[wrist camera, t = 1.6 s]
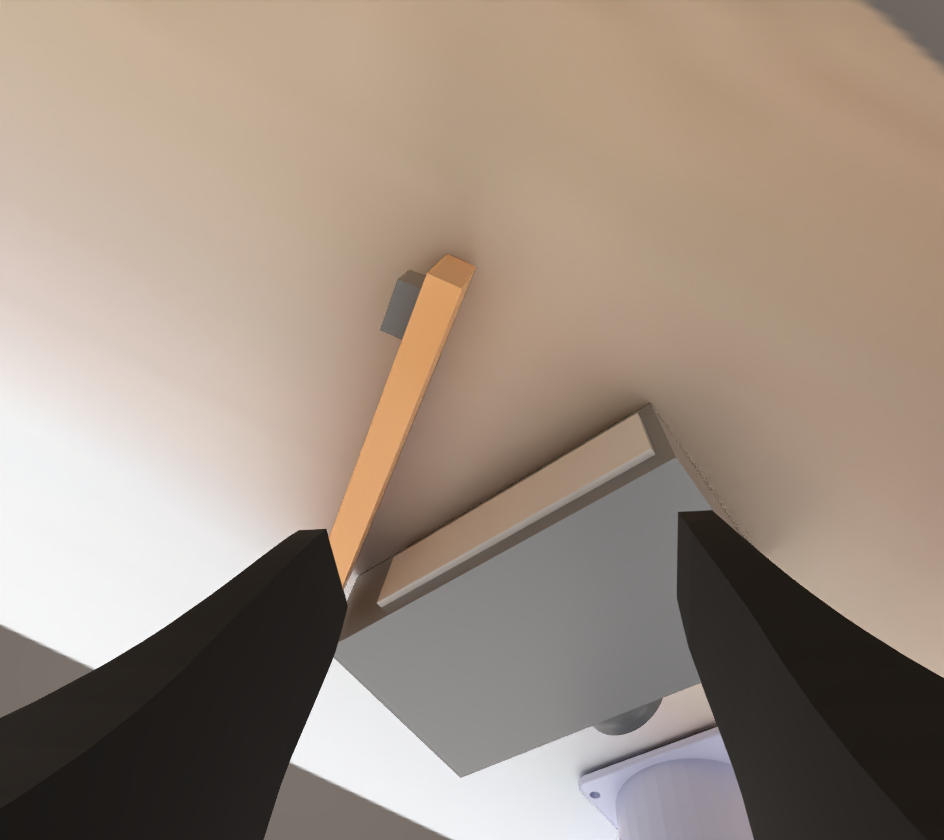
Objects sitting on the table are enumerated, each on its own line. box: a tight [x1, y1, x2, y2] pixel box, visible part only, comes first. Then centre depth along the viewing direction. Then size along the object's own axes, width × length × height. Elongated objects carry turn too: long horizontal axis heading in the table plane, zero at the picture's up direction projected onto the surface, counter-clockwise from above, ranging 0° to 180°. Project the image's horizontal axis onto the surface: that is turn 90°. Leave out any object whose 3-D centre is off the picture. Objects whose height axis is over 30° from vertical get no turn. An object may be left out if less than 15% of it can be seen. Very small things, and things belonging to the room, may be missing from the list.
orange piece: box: [329, 254, 476, 591], centre depth 19 cm, size 2×14×4 cm, turn 158°
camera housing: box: [334, 403, 744, 778], centre depth 21 cm, size 10×14×4 cm
